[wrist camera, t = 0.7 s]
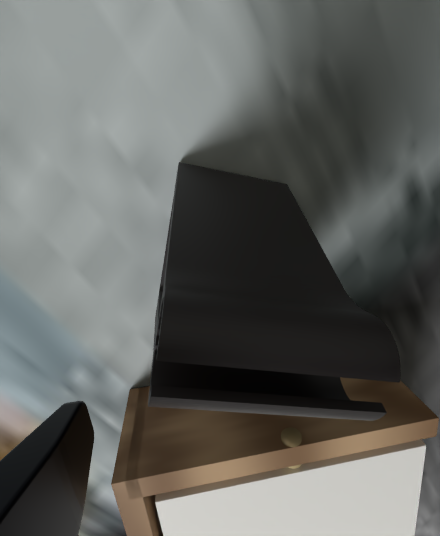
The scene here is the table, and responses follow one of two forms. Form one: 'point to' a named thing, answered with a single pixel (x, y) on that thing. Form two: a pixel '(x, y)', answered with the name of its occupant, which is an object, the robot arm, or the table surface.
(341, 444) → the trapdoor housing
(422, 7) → the table surface
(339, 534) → the trapdoor
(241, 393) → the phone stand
